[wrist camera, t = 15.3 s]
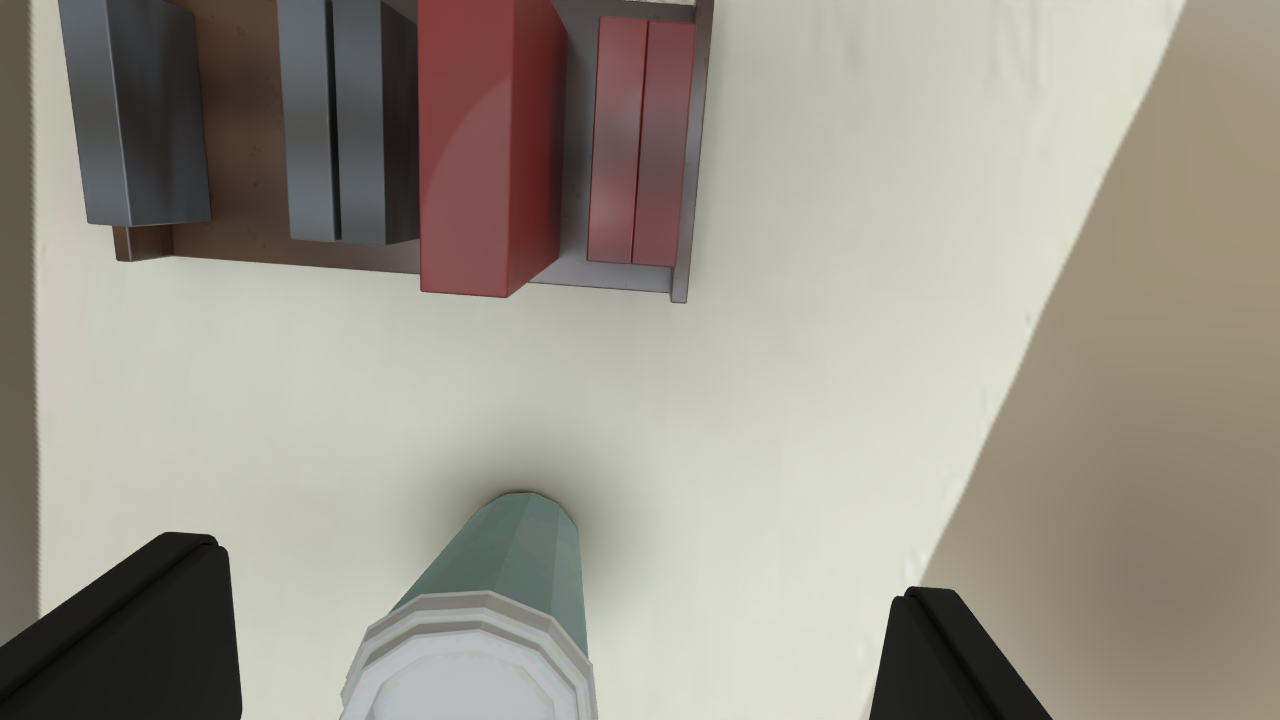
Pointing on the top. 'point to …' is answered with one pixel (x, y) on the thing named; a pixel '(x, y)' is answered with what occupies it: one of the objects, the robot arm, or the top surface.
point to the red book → (489, 143)
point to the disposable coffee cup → (485, 628)
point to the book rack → (368, 133)
